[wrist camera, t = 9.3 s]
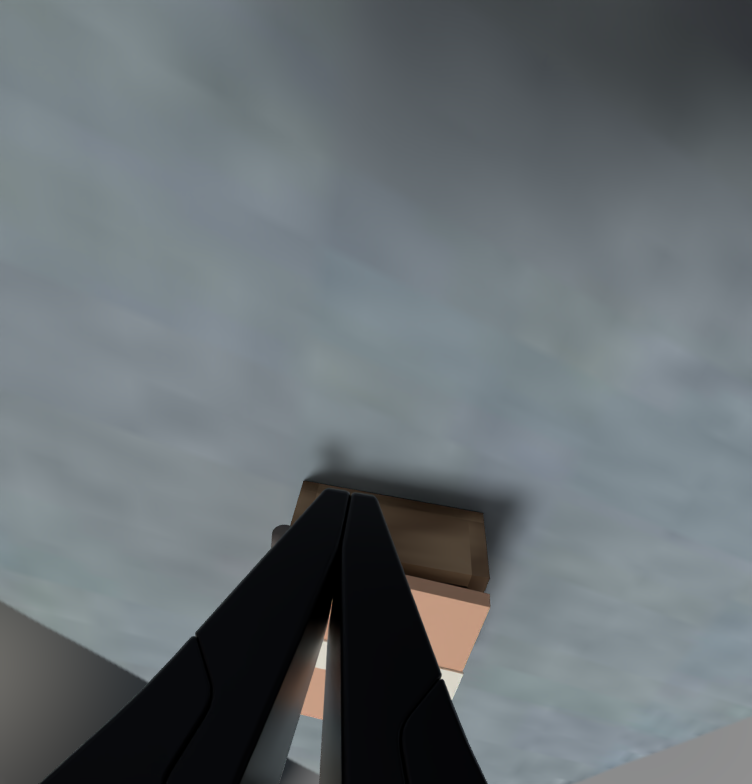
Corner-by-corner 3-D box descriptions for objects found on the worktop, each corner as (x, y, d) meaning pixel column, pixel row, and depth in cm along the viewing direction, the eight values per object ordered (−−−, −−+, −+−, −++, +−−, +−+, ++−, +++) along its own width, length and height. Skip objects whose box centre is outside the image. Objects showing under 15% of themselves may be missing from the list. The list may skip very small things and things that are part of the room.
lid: (491, 594, 21) (491, 609, 20) (432, 732, 27) (431, 747, 26) (283, 546, 21) (278, 560, 21) (269, 693, 27) (264, 707, 27)
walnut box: (488, 499, 24) (498, 582, 20) (427, 664, 31) (426, 749, 27) (294, 464, 24) (269, 540, 20) (277, 637, 31) (255, 718, 27)
